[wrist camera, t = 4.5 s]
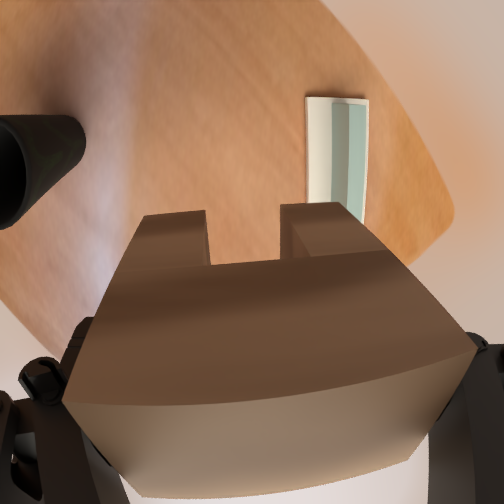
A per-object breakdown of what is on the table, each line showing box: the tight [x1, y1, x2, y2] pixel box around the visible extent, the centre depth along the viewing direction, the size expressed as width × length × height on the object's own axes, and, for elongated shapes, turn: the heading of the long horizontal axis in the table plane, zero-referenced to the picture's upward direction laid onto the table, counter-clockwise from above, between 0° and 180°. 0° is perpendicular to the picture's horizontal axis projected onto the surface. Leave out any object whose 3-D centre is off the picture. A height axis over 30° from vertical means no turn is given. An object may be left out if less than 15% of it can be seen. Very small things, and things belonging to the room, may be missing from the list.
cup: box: [0, 115, 86, 230], centre depth 20 cm, size 8×8×12 cm
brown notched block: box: [62, 202, 478, 499], centre depth 10 cm, size 5×8×9 cm, turn 92°
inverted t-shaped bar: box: [305, 97, 369, 225], centre depth 27 cm, size 15×6×5 cm, turn 3°
